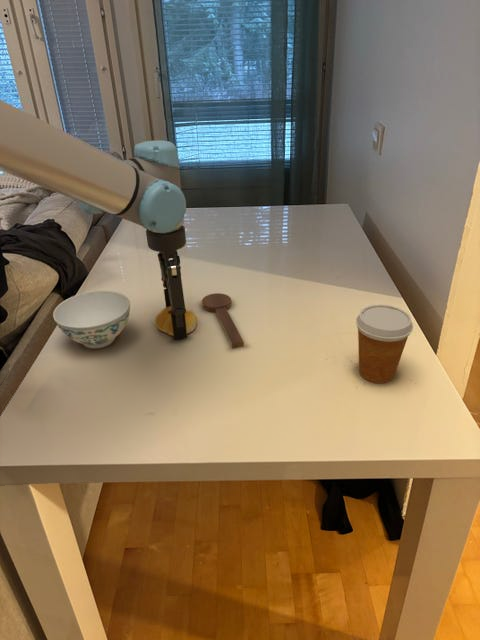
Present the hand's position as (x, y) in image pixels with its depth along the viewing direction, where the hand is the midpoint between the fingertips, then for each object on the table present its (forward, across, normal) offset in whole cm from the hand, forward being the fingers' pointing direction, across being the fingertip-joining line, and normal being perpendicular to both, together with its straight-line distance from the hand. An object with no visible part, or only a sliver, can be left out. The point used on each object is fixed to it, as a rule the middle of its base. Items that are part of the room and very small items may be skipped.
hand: (176, 325), depth 101 cm
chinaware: (0, 0, +16) cm, 17 cm away
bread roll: (0, 0, 0) cm, 0 cm away
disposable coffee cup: (+1, -28, -32) cm, 43 cm away
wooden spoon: (0, -1, -11) cm, 11 cm away
